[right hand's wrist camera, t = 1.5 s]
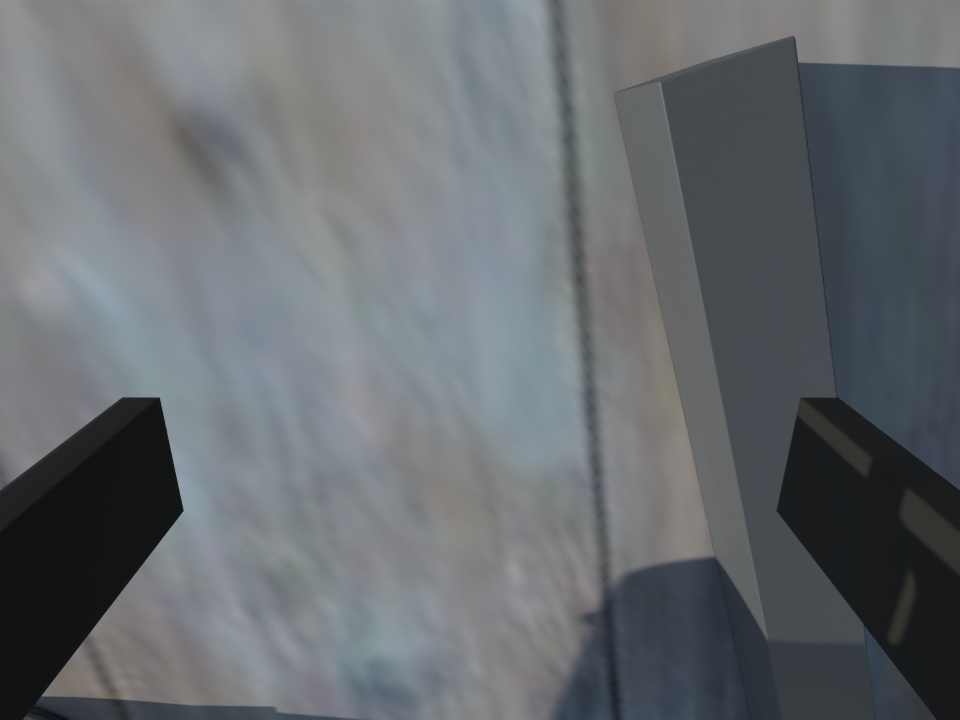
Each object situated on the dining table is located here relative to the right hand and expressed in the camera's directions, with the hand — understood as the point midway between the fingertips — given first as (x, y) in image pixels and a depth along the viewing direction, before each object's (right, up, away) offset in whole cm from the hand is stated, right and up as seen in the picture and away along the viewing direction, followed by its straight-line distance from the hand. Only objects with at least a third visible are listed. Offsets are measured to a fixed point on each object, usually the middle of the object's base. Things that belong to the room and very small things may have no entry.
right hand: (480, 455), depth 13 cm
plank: (+16, -10, +23) cm, 30 cm away
